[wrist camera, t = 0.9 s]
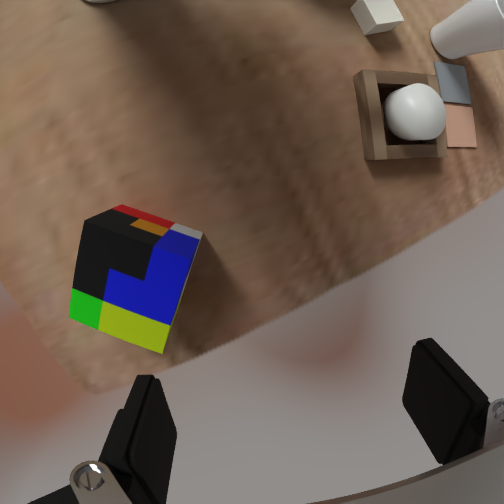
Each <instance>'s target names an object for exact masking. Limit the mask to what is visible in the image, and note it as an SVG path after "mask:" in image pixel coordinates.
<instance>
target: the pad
mask: <svg viewBox="0 0 504 504" xmlns="http://www.w3.org/2000/svg"><path fill="white" fill-rule="evenodd" d="M444 106H445V109H446V124H445V135H446V144H447V147H477V144H476V133H475V125H474V117H473V109H472V108H470V107H461V106H451V105H444Z"/></svg>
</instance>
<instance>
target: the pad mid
mask: <svg viewBox="0 0 504 504" xmlns="http://www.w3.org/2000/svg"><path fill="white" fill-rule="evenodd" d="M434 66H435V71H436V75H437V80H438V86H439V91H440V97H441V99H442V101H443V102H454V103H463V104H472V103H471V96H470V90H469V85H468V80H467V75H466V70H465V66H460V65H455V64H449V63H443V62H436V61H434Z"/></svg>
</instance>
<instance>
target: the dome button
mask: <svg viewBox="0 0 504 504" xmlns="http://www.w3.org/2000/svg"><path fill="white" fill-rule="evenodd" d="M383 115H384V119H385V122H386V125H387V126H388V128H389V129H390V131H391V132H392V133H393V134H394V135H395V136H397V137H398V138H400V139H403V140H408V141H410V140H428V139H434V138H436V137H437V136H439V135H440V134H441V133H442V131H443V130H444V127H445V124H446V109H445V106H444V103H443V101H442V99H441V97H440V96H439V94H438V93H437V92H436V91H435V90H434V89H432V88H431V87H429V86H428V85H425V84H421V83H415V84H412V85H409V86H406V87H403V88H401V89H398V90H395V91H393V92H391V93H390V94H389V95H388V96H387V98H386V100H385V102H384V106H383Z"/></svg>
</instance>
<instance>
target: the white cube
mask: <svg viewBox="0 0 504 504" xmlns="http://www.w3.org/2000/svg"><path fill="white" fill-rule="evenodd" d="M350 9H351V11H352V13H353V15H354V17H355V18H356V20H357V22H358V24H359V26H360V28H361V30H362V32H363V34H364V35H369V34H374V33H380V32H386V31H391V30H392V29H393V28H395V27H396V26H397V25H399V24H400V23H402V22H403V21H404V19H403V17H402V15H401V13H400V12H399V10H398V8H397V6H396V4H395V3H394V1H393V0H357V1H356V2H355V3H354V5H353V6H352V7H351V8H350Z"/></svg>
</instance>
